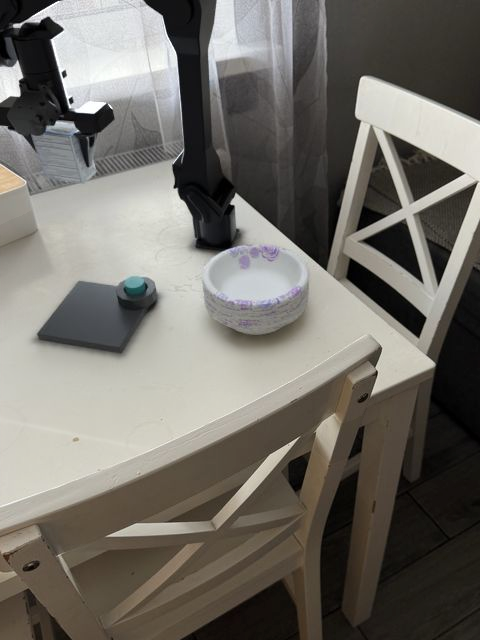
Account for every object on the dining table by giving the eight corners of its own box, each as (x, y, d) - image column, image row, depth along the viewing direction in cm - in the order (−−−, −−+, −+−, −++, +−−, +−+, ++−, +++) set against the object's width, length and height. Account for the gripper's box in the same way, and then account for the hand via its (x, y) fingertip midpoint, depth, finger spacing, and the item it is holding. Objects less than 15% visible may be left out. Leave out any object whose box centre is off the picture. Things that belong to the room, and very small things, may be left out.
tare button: (149, 285, 91) (147, 277, 90) (141, 297, 89) (139, 289, 88) (130, 282, 91) (129, 274, 90) (122, 294, 89) (120, 286, 88)
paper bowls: (281, 273, 96) (281, 231, 91) (326, 330, 86) (328, 286, 81) (192, 299, 92) (186, 256, 87) (228, 361, 82) (224, 317, 77)
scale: (163, 294, 93) (161, 279, 91) (127, 354, 84) (123, 338, 82) (83, 282, 96) (78, 267, 94) (39, 339, 86) (33, 324, 84)
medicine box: (97, 173, 103) (85, 124, 97) (83, 185, 100) (70, 135, 94) (59, 167, 105) (45, 119, 99) (44, 179, 102) (28, 130, 96)
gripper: (-45, 83, 87) (-8, 181, 98) (68, 91, 83) (95, 192, 94) (-2, 58, 95) (29, 152, 105) (104, 64, 91) (125, 160, 101)
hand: (67, 164), depth 101 cm, fingers closed on medicine box, 8 cm apart
